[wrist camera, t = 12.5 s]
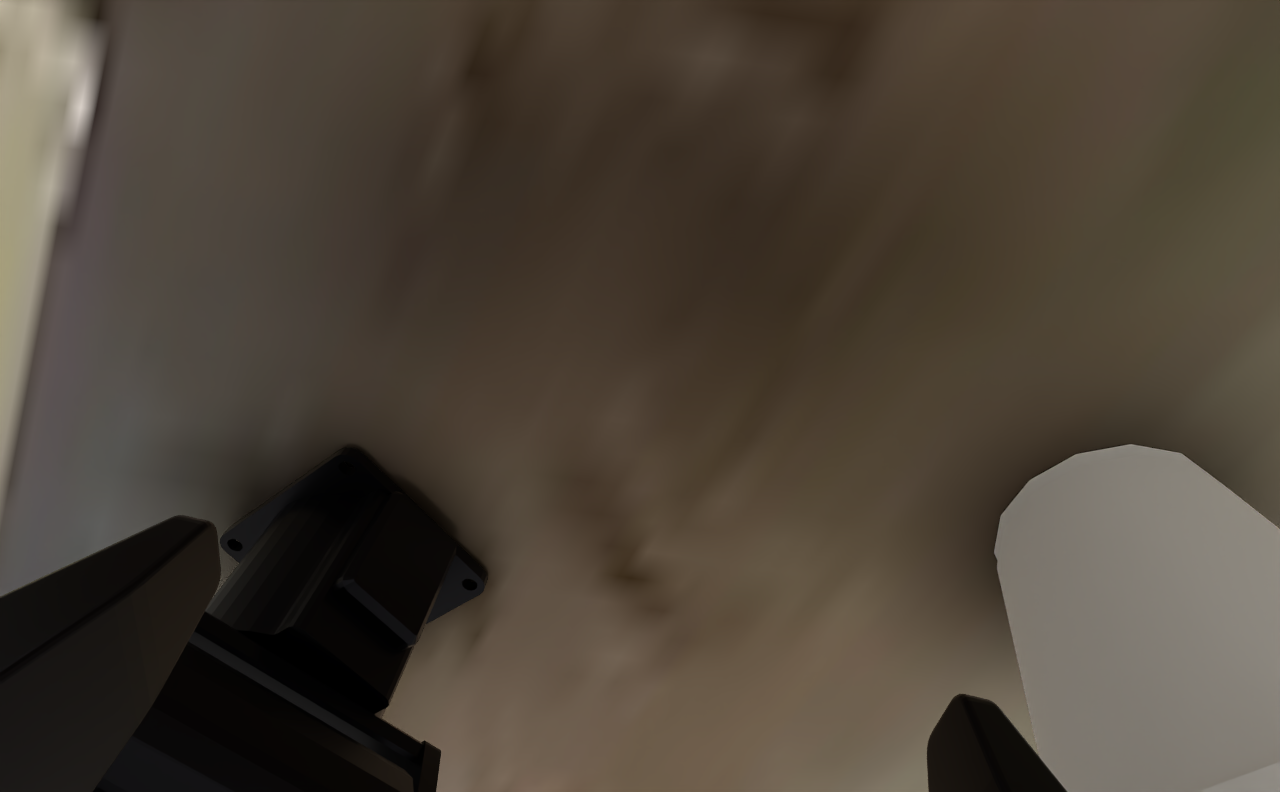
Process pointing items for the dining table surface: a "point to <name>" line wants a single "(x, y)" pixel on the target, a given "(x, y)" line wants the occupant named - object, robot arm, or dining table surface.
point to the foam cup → (1145, 624)
